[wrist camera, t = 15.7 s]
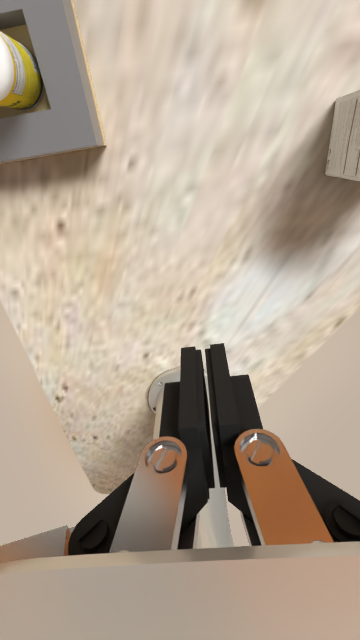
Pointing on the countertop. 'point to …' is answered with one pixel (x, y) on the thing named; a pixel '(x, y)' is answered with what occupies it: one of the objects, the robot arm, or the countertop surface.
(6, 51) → the supplement bottle
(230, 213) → the countertop surface
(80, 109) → the socket block
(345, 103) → the supplement box
